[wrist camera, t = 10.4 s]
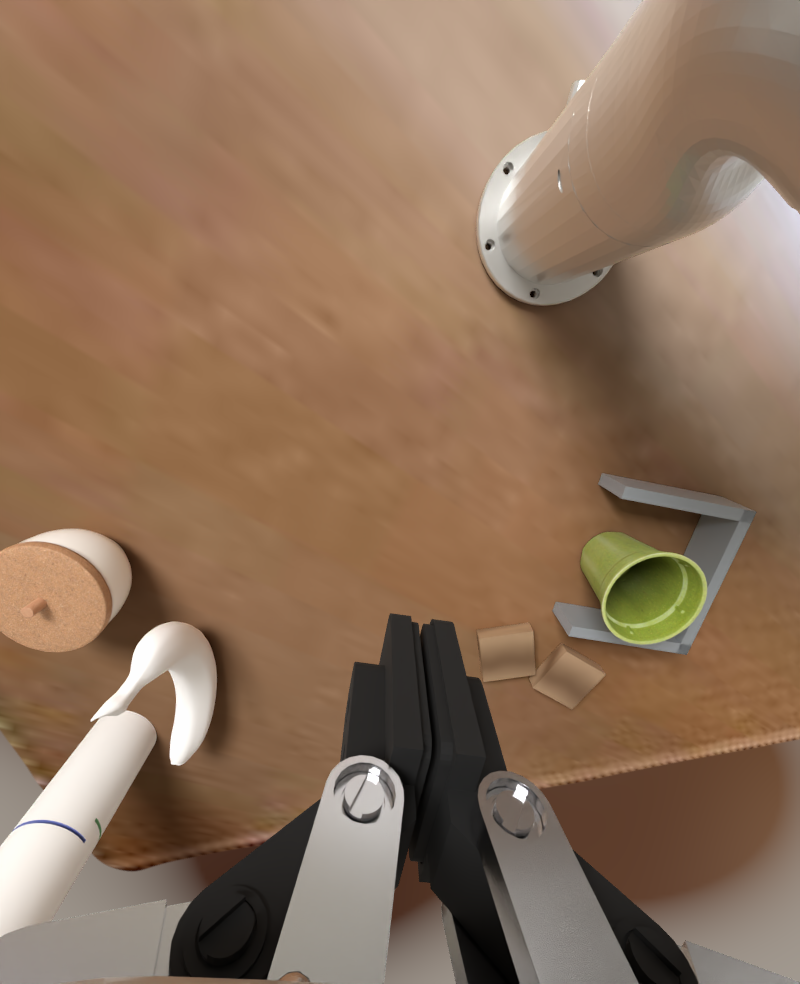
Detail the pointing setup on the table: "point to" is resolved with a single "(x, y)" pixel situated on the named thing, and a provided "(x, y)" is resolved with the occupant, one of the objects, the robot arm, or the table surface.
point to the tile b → (566, 676)
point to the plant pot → (642, 588)
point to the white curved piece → (192, 679)
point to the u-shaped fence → (706, 548)
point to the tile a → (506, 652)
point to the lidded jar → (61, 588)
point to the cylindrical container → (69, 820)
